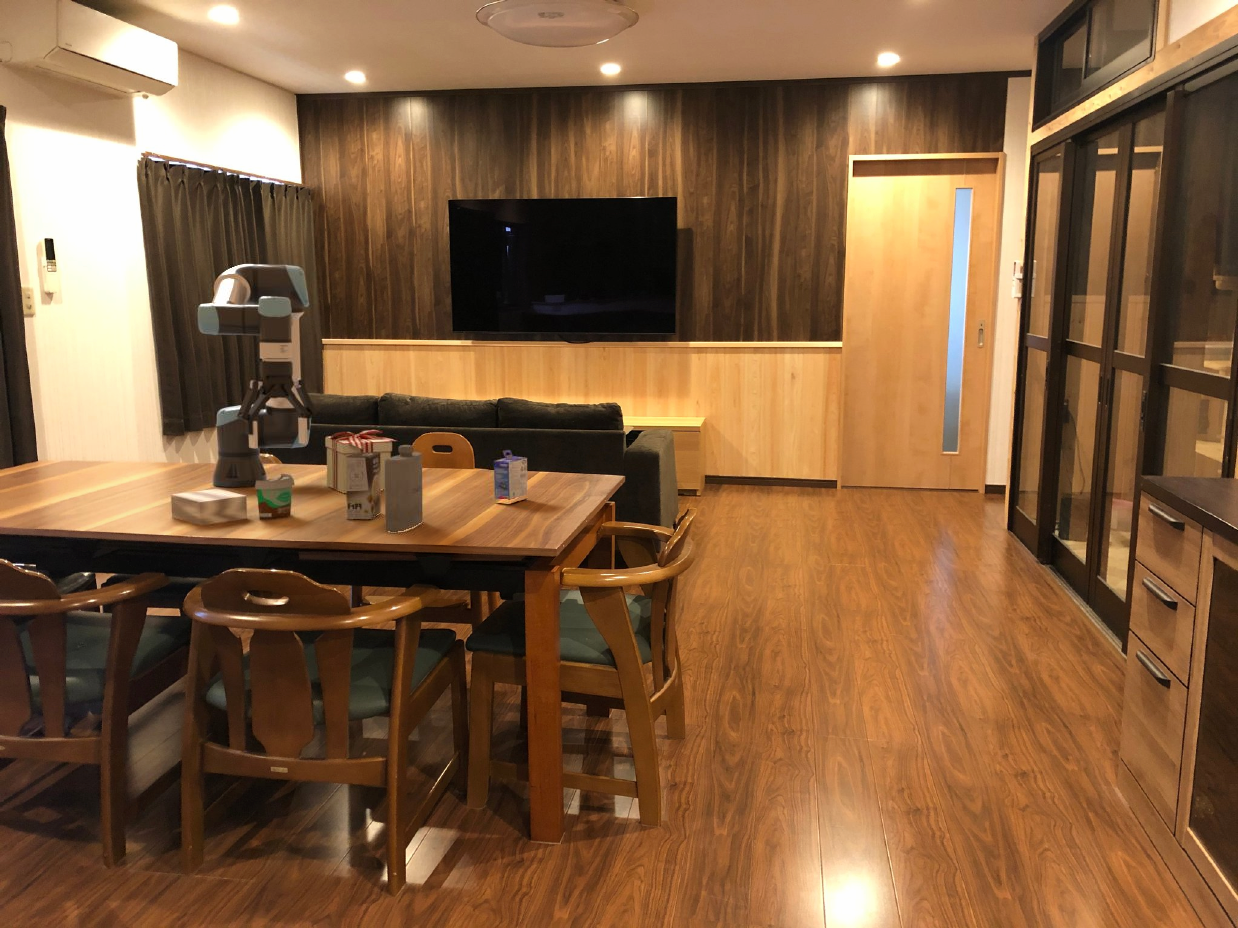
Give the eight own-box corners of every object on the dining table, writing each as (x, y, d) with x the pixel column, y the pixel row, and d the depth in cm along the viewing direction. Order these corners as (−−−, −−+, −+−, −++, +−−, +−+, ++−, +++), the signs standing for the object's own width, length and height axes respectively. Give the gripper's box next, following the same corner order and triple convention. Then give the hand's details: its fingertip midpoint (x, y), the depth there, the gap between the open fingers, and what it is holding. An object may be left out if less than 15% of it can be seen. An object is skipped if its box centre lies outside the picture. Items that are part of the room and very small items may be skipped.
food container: (278, 522, 233) (277, 482, 232) (256, 520, 235) (254, 480, 233) (304, 512, 245) (303, 474, 244) (283, 511, 246) (282, 473, 245)
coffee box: (371, 520, 238) (370, 457, 236) (346, 519, 238) (345, 456, 236) (381, 513, 247) (380, 452, 245) (357, 512, 247) (356, 451, 245)
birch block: (217, 511, 246) (216, 488, 245) (247, 519, 237) (246, 495, 236) (172, 518, 237) (170, 494, 236) (201, 526, 228) (199, 502, 227)
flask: (405, 534, 224) (404, 450, 221) (382, 532, 225) (381, 449, 222) (428, 521, 239) (428, 442, 236) (406, 520, 240) (405, 441, 237)
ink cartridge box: (511, 497, 272) (511, 447, 270) (528, 499, 270) (528, 449, 268) (492, 503, 264) (493, 451, 261) (509, 505, 261) (510, 453, 259)
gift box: (350, 496, 268) (348, 436, 266) (322, 487, 282) (320, 429, 280) (404, 490, 280) (403, 432, 277) (374, 481, 293) (374, 426, 291)
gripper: (236, 361, 222) (239, 451, 225) (329, 360, 241) (331, 443, 244) (220, 360, 227) (223, 448, 230) (312, 359, 246) (314, 440, 249)
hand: (278, 445), depth 237 cm, fingers open, 13 cm apart
